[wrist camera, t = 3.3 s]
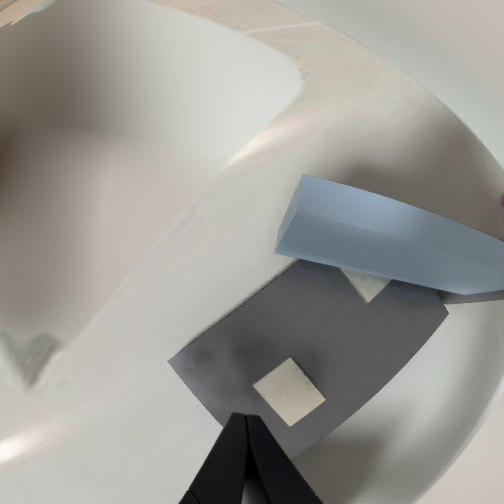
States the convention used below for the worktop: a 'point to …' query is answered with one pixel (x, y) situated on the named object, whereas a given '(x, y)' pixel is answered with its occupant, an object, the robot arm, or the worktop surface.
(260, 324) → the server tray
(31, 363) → the worktop surface
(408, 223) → the light blue flat slab
